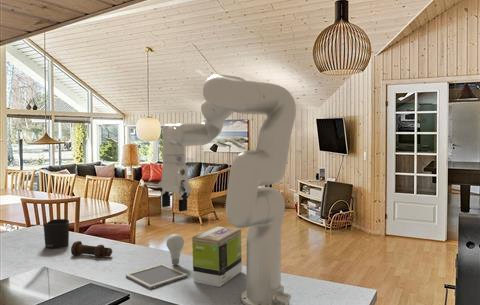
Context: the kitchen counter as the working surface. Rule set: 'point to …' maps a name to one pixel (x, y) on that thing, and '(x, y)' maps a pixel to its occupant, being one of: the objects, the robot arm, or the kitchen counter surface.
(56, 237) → the pen holder
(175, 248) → the lightbulb
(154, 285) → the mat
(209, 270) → the tea box
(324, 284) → the kitchen counter surface
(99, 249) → the bolt
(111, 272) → the kitchen counter surface
